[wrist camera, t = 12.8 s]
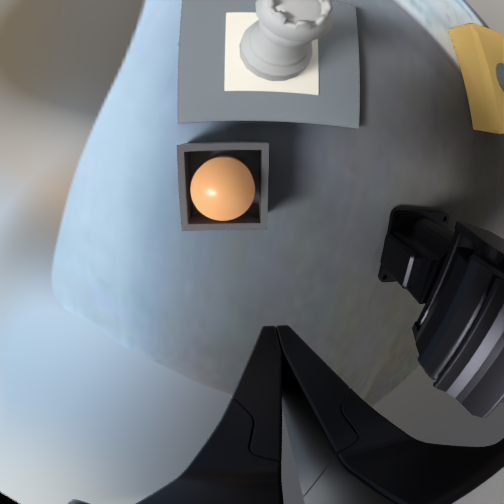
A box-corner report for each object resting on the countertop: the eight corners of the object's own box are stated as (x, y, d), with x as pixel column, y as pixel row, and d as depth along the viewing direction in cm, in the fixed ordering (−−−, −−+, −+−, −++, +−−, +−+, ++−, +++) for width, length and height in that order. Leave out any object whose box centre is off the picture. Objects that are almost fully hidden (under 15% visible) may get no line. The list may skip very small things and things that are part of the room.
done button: (253, 154, 17) (255, 157, 14) (252, 208, 18) (254, 220, 16) (195, 155, 16) (189, 159, 14) (197, 209, 18) (192, 221, 16)
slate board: (351, 9, 13) (355, 5, 12) (354, 128, 17) (359, 128, 16) (184, -1, 12) (182, -6, 11) (180, 123, 16) (177, 123, 16)
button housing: (264, 141, 17) (268, 143, 15) (262, 214, 20) (267, 229, 17) (186, 143, 17) (176, 145, 14) (189, 216, 19) (182, 230, 17)
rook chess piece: (312, 31, 13) (358, -20, 6) (303, 88, 15) (351, 62, 8) (244, 19, 13) (249, -45, 6) (234, 77, 15) (231, 36, 7)
